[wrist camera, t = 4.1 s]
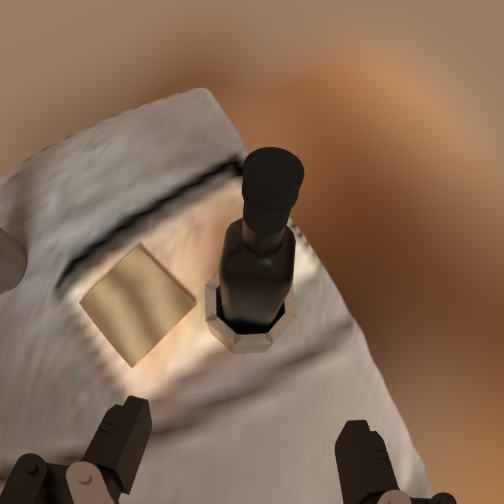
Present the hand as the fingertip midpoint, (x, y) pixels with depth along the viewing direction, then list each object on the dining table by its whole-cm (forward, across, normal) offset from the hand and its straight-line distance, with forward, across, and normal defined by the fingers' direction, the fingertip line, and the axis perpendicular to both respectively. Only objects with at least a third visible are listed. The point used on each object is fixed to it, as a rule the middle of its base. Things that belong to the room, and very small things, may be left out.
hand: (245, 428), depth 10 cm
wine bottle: (+28, 0, +12) cm, 31 cm away
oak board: (+28, +17, +12) cm, 35 cm away
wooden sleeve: (+28, 0, +12) cm, 31 cm away
